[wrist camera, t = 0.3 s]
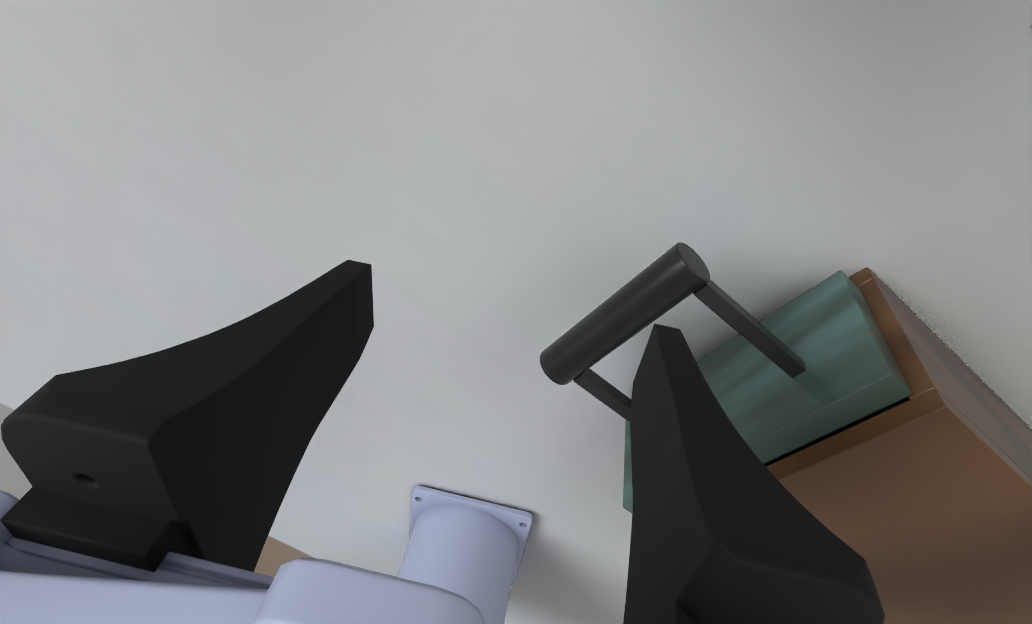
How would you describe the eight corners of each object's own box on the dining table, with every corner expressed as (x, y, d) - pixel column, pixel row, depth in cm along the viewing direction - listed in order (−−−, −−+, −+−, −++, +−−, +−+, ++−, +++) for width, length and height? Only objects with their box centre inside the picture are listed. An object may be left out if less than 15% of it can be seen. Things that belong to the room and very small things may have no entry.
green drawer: (520, 328, 26) (495, 422, 22) (721, 153, 20) (743, 236, 16) (787, 525, 32) (811, 633, 27) (1014, 437, 25) (1094, 560, 21)
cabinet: (634, 410, 30) (632, 545, 24) (866, 265, 23) (946, 406, 17) (800, 533, 33) (834, 676, 28) (1044, 442, 26) (1161, 608, 20)
